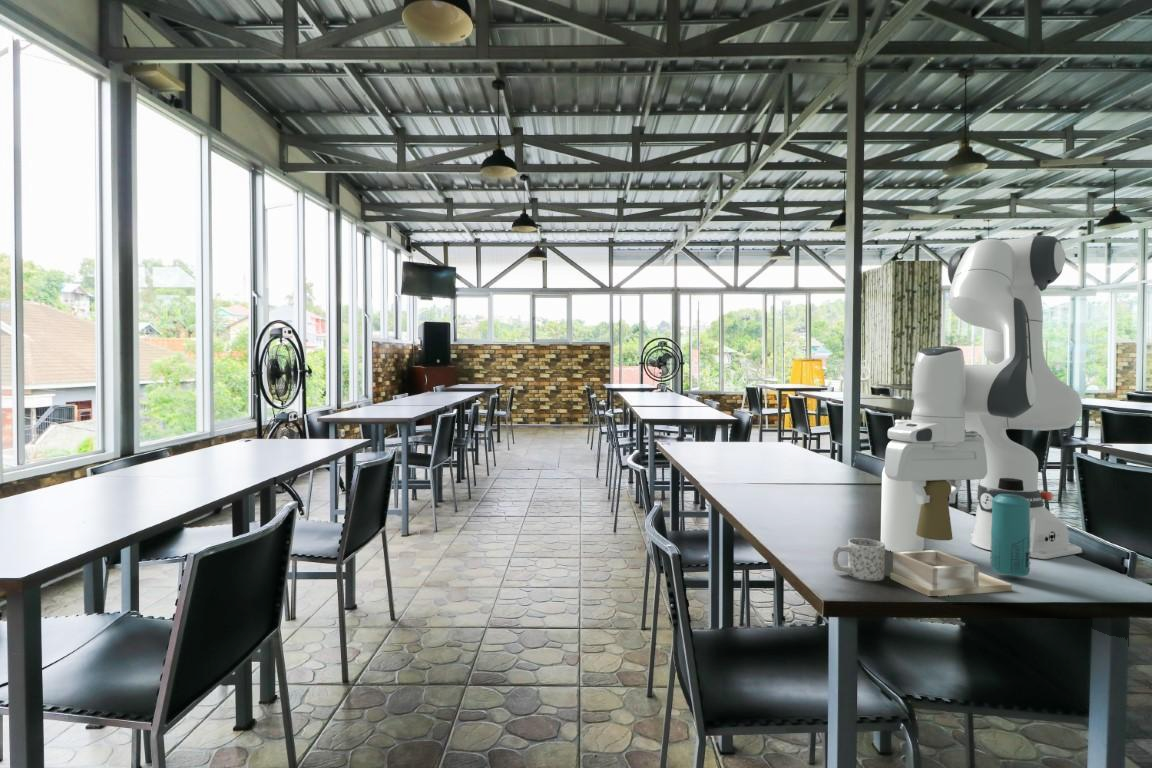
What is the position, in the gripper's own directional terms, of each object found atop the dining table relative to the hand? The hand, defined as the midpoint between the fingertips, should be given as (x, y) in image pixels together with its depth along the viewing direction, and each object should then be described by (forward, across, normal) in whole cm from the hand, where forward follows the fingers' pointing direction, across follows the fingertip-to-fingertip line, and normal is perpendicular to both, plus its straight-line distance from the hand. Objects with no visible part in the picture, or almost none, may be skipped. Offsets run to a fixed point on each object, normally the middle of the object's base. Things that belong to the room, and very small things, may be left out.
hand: (935, 503), depth 116 cm
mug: (+16, +10, -8) cm, 21 cm away
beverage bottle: (+16, -19, -1) cm, 25 cm away
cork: (+6, 0, 0) cm, 7 cm away
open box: (+16, -4, 0) cm, 16 cm away
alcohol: (+16, -12, -22) cm, 30 cm away
